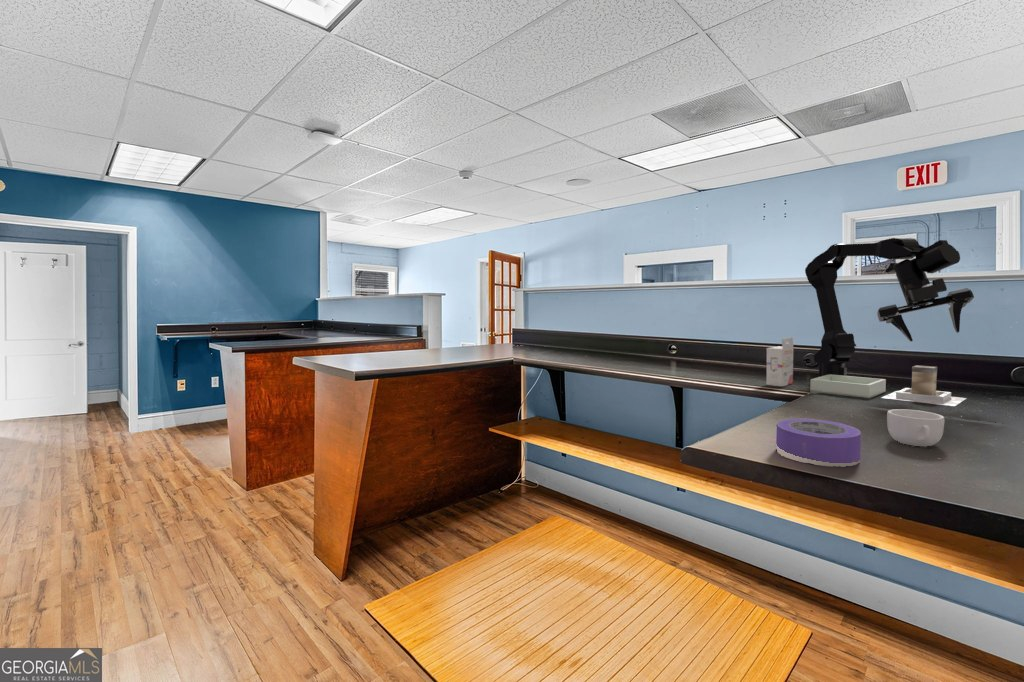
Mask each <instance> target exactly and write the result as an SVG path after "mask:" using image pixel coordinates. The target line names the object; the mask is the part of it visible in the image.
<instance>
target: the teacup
mask: <svg viewBox="0 0 1024 682" xmlns="http://www.w3.org/2000/svg"><path fill="white" fill-rule="evenodd" d="M886 425H887V430H888V431H887V432H888V433H889V435H890V437H892V439H893V440H895V441H896V442H897V441H898V442H897V443H899V442H900V443H899V444H901V443H904V444H908V445H915V446H930V447H932V446H934V445H936V444H938V442H940V440H941V439H942V437H943V434H944V429H945V417H944V416H943V415H942V414H938V413H935V412H930V411H924V410H917V409H907V408H905V409H904V408H903V409H902V408H899V409H897V408H895V409H888V411H887V413H886ZM904 444H903V445H904ZM908 445H907V446H908Z"/></svg>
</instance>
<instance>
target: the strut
mask: <svg viewBox="0 0 1024 682" xmlns="http://www.w3.org/2000/svg"><path fill="white" fill-rule="evenodd" d="M937 377H938V366H932V365H931V366H930V365H914V366H912V367H911V388H912V389H911V393H916V394H926V395H935V396H936V391H937Z"/></svg>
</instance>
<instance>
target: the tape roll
mask: <svg viewBox="0 0 1024 682" xmlns="http://www.w3.org/2000/svg"><path fill="white" fill-rule="evenodd" d="M775 437H776V439H775V440H776V441H775V442H776V443H775V444H777V446H778V447H779V448H780V449H782V450H784V451H785V452H787V453H790V454H793V455H795V456H799V457H802V458H807V459H811V460H816V461H822V462H829V463H852V462H858V461H859V460H860V461H861V446H862V445H861V444H862V443H861V442H862V440H861V439H862V432H861V430H860V429H858V428H856V427H854V426H851V425H848V424H845V423H842V422H841V423H840V422H836V421H830V420H824V419H814V418H813V419H812V418H787V419H783V420H782V419H781V420H779V421H778V422H776V436H775Z"/></svg>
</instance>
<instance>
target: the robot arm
mask: <svg viewBox="0 0 1024 682" xmlns="http://www.w3.org/2000/svg"><path fill="white" fill-rule="evenodd" d="M873 256H874V257H876V258H880V259H886V260H900V261H898V262H891V263H889V266H888V267H887V268H886V270H885V273H887V274H889V273H891V274H892V273H893V274H895V275H896V278H897V282H898V285H899V287H900V289H901V292H902V295H903V297H904V300H905V303H906V305H902V306H897V305H896V304H891V305H886V306H882V307H879V309H878V310H877V312H876V313H877V318H878V321H879V322H881V323H883V322H885V323H886V324H892V325H893V326H895V328H896V329H898V330H899V331H900V332H901V334H903V336H904V337H906V339H907V340H908V341H909V342H911V343H912V342H913V338H912V334H911V332H910V331H909V329H908V327H907V325H906V323H905V321H904V318H903V316H902V314H907V313H911V312H916V311H920V310H925V309H929V308H935V307H939V306H943V305H949V307H948V311H949V314H950V315H949V316H950V318H951V322H952V326H953V328H954V331H955V332H956V333H960V324H961V313H962V309H963V308H964V307H966V306H967V304H969V303H970V302H972V301H973V300H974V299H975V296H974V294H973V290H971V289H969V288H967V287H965V288H961V289H957V290H956V289H955V290H952V291H948V293H947V295H946V296H943V297H939V293H942V292H946V291H947V290H948V289H947V285H946V282H945V280H944V278H942V277H941V278H937V279H933V280H932V282H930V280H929V279H928V276H927V274H935V273H937V272H940V271H942V270H945V269H947V268H949V267H952V266H954V265H955V264H958V263H959V262H960V261H961V254H960V252H959V250H957V249H956V248H955V247H954V246H953V245H952V244H950V243H949V241H948V240H947V239H943V240H942V239H940V240H937V241H935V242H934V243H932V244H930V245H929V246H923V245H921V244H920V243H919V241H918V240H917V239H916V238H912V237H890V238H887V239H883V240H880V241H875V242H864V243H834V244H832V245H830V246H828V248H827V249H826V250H825V251H823V252H821V253H820V254H819V255H817V256H816V257H814V258H813V259H812V260H811V261H810V262H809V263H807V265H806V267H805V269H804V271H805V276H806V279H807V282H808V283H809V284H810V285H811V286H812V288H813V289H815V292H816V298H817V301H818V306H819V312H820V316H821V321H822V325H823V326H822V327H823V330H824V333H823V336H822V337H821V342H820V343H821V345H820V346H821V348H820V349H819V350H818V351H817V352H816V353H815V354H814V355H813V359H814V362H815V363H818V377H821V376H824V375H828V374H831V375H842V376H848V375H847V374H848V368H847V367H846V363H847V364H849V363H850V361H851V358H852V357H853V355H854V354H855V352H856V347H857V345H856V342H855V336H854V334H853V333H847V331H845V329H844V325H843V322H842V317H841V313H840V307H839V303H838V299H837V295H836V290H835V284H836V281H837V279H838V270H840V269H841V268H842V267H843V266H844V263H845V260H846V258H847V257H873ZM926 273H927V274H926Z"/></svg>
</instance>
